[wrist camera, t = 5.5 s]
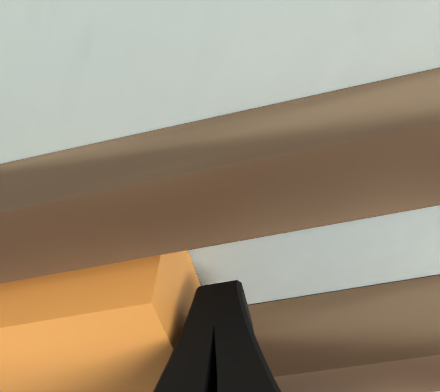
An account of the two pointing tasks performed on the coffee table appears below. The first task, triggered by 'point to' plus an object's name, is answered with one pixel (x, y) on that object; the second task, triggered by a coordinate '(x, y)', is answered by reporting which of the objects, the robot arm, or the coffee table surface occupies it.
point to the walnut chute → (256, 218)
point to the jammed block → (95, 326)
